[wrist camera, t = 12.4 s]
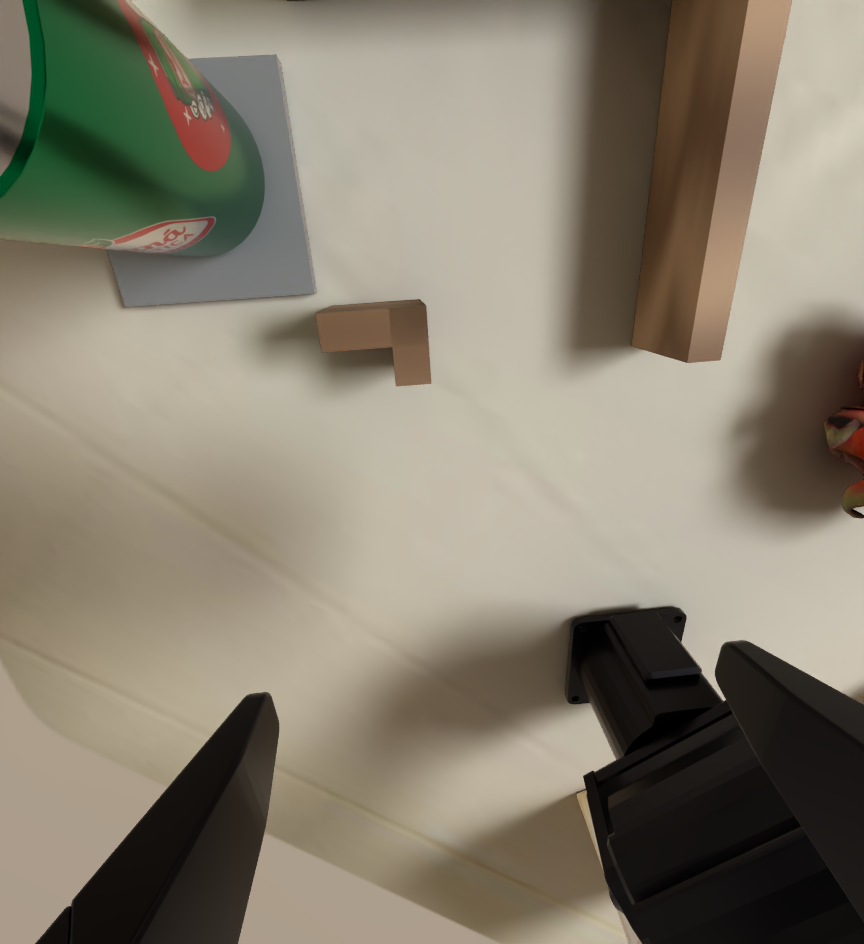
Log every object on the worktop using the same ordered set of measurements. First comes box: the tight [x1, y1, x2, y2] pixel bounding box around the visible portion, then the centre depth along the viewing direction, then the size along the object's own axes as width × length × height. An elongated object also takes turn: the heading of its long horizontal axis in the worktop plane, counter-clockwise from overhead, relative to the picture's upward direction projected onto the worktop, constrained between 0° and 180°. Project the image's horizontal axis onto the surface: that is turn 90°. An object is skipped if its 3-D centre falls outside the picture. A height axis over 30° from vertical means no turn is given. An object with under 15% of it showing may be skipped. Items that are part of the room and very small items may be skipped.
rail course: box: [287, 0, 792, 386], centre depth 15 cm, size 13×14×4 cm
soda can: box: [0, 0, 265, 257], centre depth 10 cm, size 5×5×12 cm
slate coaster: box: [107, 55, 317, 307], centre depth 16 cm, size 7×7×1 cm
